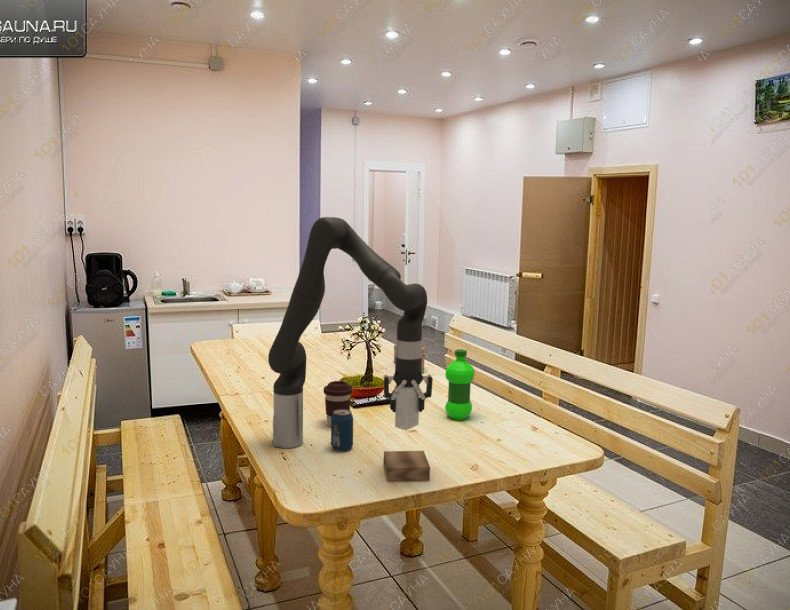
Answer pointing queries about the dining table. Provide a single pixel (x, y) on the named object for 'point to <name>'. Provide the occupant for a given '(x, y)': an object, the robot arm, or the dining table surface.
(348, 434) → the soda can
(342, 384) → the coffee cup
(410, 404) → the skincare box
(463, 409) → the plastic bottle
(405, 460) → the walnut base
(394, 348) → the printed snack box
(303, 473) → the dining table surface
